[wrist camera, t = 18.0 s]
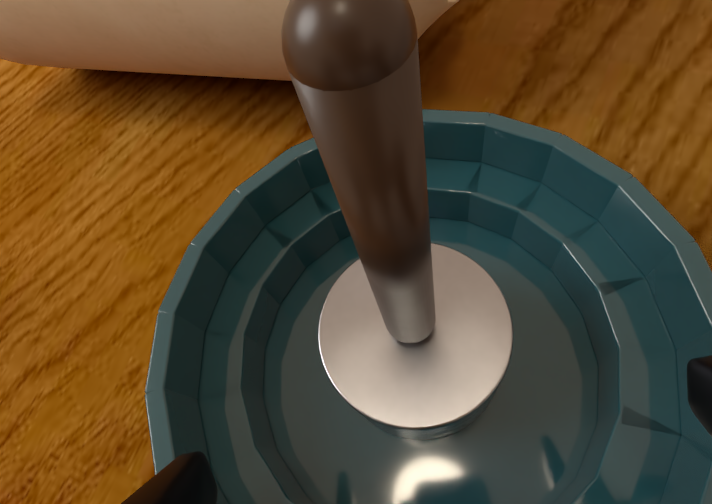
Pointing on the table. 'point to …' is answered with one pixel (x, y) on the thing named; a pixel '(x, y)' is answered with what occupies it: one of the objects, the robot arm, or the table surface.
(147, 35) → the candle
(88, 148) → the table surface
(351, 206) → the silver joystick
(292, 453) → the bowl
